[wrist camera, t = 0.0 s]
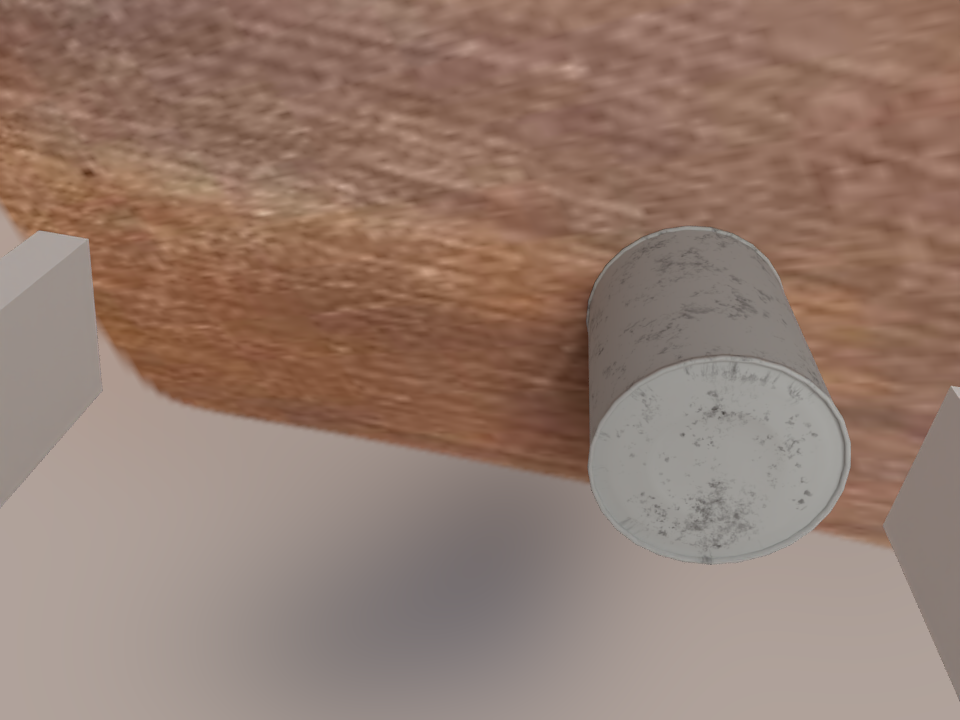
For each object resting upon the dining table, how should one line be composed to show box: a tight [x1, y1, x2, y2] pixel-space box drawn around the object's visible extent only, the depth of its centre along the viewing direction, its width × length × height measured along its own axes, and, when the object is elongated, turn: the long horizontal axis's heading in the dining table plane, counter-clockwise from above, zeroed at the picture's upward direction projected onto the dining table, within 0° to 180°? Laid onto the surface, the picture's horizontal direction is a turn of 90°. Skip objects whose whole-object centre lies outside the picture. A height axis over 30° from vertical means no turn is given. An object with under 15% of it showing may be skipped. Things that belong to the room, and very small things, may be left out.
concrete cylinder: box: [586, 226, 851, 565], centre depth 39 cm, size 10×10×12 cm
